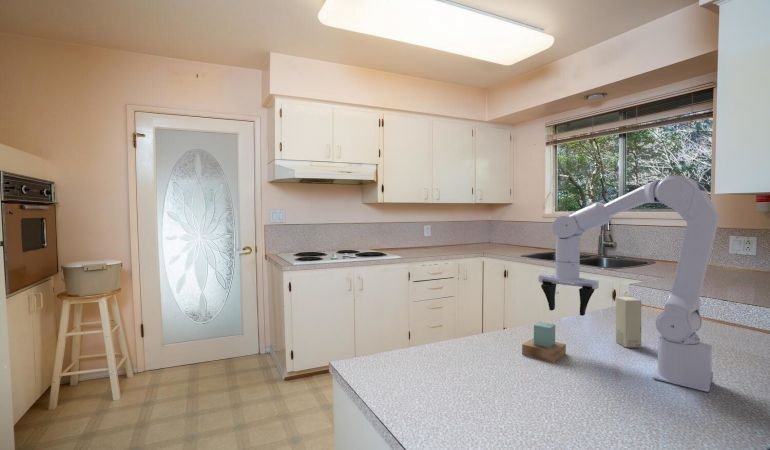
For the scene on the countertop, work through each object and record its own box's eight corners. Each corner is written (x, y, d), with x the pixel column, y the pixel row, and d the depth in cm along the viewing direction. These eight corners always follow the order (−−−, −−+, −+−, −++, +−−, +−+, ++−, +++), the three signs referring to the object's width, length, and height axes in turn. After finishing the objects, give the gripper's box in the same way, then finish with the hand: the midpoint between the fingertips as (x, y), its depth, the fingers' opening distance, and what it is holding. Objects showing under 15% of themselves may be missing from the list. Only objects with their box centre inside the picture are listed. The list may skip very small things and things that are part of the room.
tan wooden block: (565, 355, 99) (565, 344, 99) (553, 364, 94) (554, 352, 94) (534, 348, 105) (535, 337, 105) (522, 355, 99) (522, 344, 99)
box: (641, 348, 104) (643, 300, 103) (625, 348, 104) (626, 300, 103) (629, 341, 109) (630, 296, 109) (614, 341, 109) (615, 296, 109)
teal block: (555, 344, 99) (555, 324, 99) (549, 348, 96) (550, 328, 96) (539, 340, 102) (539, 321, 102) (533, 344, 99) (533, 325, 99)
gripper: (602, 262, 100) (601, 314, 101) (545, 257, 110) (544, 305, 111) (594, 264, 95) (593, 319, 96) (535, 260, 105) (535, 309, 105)
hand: (566, 312), depth 103 cm, fingers open, 7 cm apart
